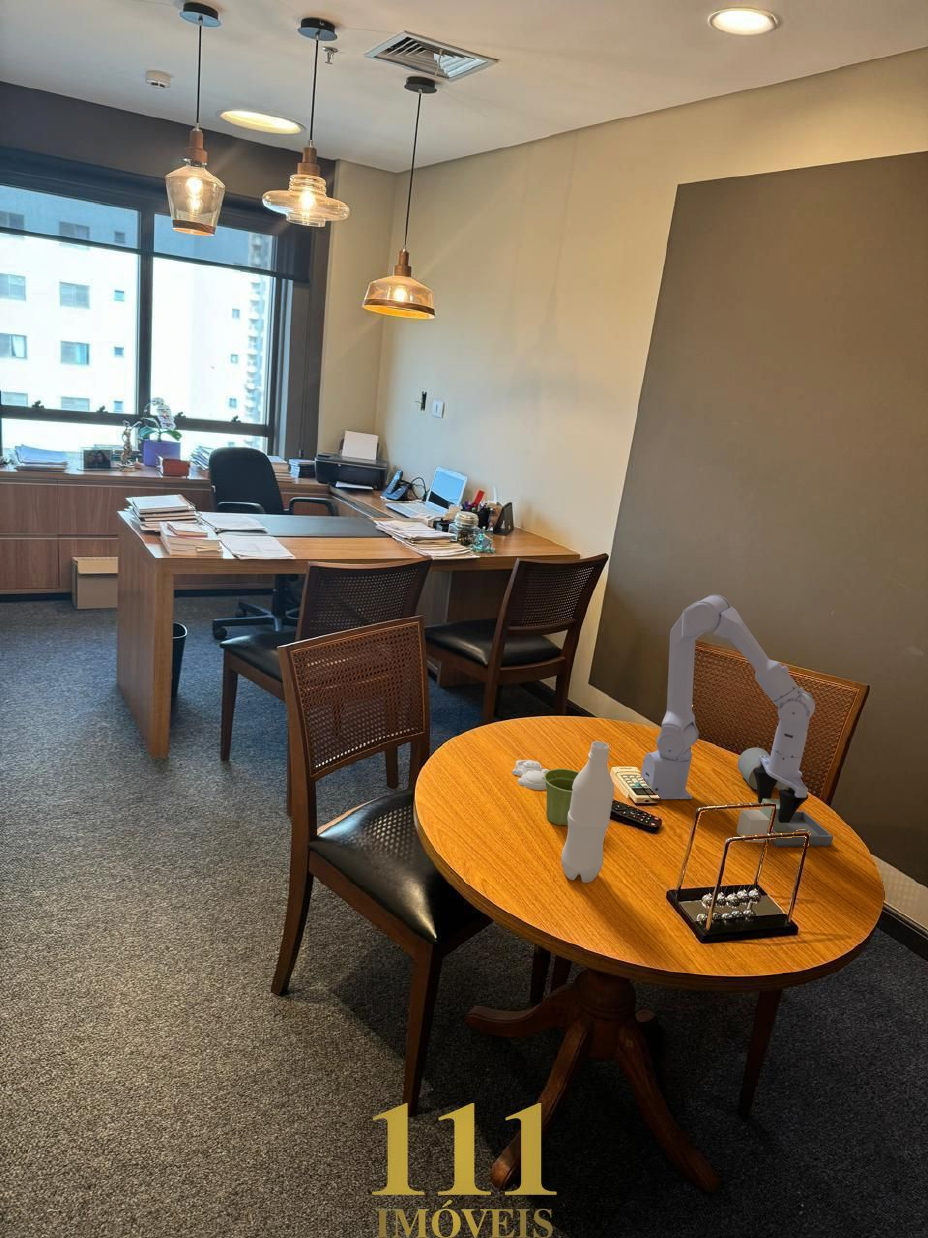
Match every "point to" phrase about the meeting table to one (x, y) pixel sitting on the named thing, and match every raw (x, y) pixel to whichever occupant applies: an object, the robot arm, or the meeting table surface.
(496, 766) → the meeting table surface
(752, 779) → the ceramic mug
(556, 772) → the plant pot
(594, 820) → the water bottle
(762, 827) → the grey block
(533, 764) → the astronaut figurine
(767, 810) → the sage block
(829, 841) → the tray
